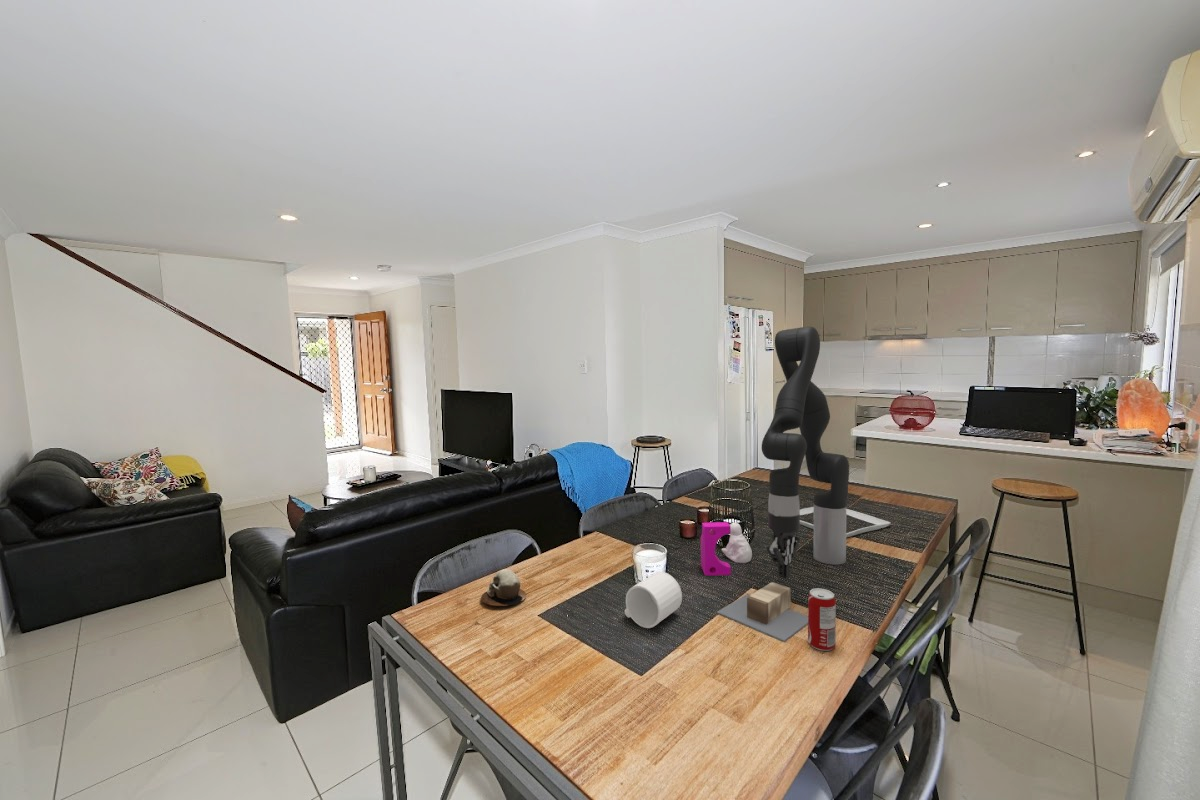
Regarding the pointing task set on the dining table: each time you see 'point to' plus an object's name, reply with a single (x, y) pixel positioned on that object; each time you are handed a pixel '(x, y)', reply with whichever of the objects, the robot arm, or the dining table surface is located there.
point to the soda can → (821, 619)
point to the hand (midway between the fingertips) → (783, 576)
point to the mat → (776, 628)
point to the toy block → (713, 548)
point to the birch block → (768, 602)
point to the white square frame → (871, 519)
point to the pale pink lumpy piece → (737, 546)
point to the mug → (653, 599)
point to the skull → (504, 589)
